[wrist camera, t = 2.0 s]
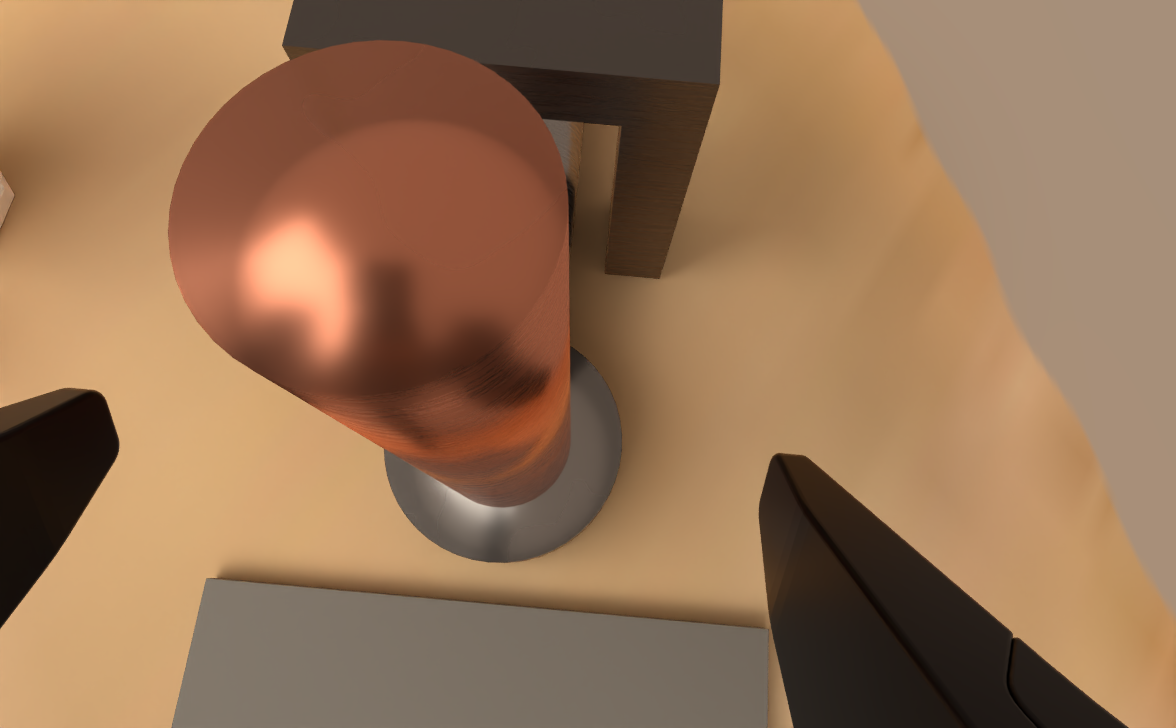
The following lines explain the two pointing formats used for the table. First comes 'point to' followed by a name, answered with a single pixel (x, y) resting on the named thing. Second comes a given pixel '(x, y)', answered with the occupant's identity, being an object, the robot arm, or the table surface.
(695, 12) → the brown square arch
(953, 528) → the table surface
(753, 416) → the table surface
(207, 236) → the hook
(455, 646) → the mat
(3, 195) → the cup
